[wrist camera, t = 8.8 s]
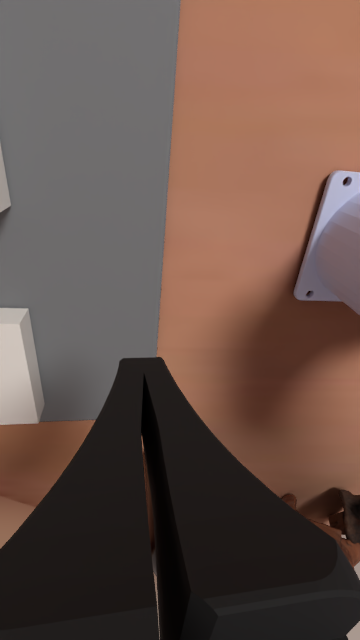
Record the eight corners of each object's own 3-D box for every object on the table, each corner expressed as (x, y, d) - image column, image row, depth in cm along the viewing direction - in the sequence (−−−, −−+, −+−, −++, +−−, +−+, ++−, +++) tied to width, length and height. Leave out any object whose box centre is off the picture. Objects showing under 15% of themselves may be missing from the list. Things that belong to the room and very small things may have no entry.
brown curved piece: (317, 525, 41) (313, 598, 35) (263, 476, 41) (249, 539, 35) (405, 500, 34) (423, 585, 28) (340, 441, 34) (342, 512, 28)
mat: (182, -41, 13) (183, -45, 13) (151, 413, 26) (152, 417, 26) (-265, -127, 11) (-278, -136, 10) (-50, 420, 24) (-53, 424, 23)
